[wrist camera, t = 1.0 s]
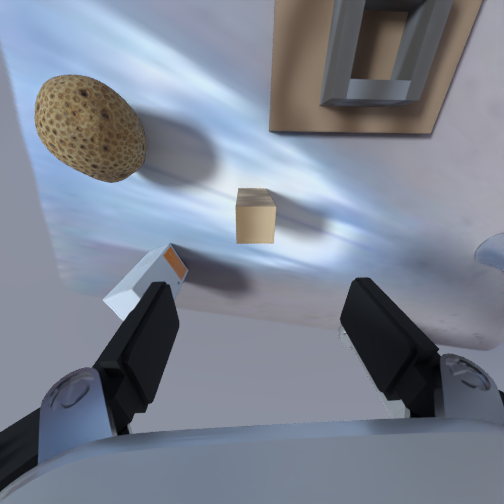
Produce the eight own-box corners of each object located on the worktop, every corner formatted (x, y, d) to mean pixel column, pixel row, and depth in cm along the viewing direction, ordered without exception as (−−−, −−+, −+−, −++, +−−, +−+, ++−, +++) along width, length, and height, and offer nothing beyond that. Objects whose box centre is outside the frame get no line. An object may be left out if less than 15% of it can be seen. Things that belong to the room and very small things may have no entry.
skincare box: (190, 269, 34) (164, 324, 23) (169, 277, 34) (135, 334, 24) (170, 241, 31) (131, 288, 20) (148, 250, 32) (99, 301, 21)
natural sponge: (158, 186, 27) (116, 203, 18) (88, 162, 25) (4, 168, 16) (167, 111, 23) (120, 88, 14) (86, 77, 21) (-27, 26, 12)
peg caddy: (483, -37, 18) (559, -96, 14) (420, 134, 25) (458, 130, 21) (277, -48, 18) (288, -114, 13) (268, 131, 24) (274, 127, 20)
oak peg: (266, 188, 28) (276, 206, 19) (264, 215, 29) (273, 243, 21) (238, 188, 27) (235, 206, 19) (239, 215, 29) (236, 243, 20)
